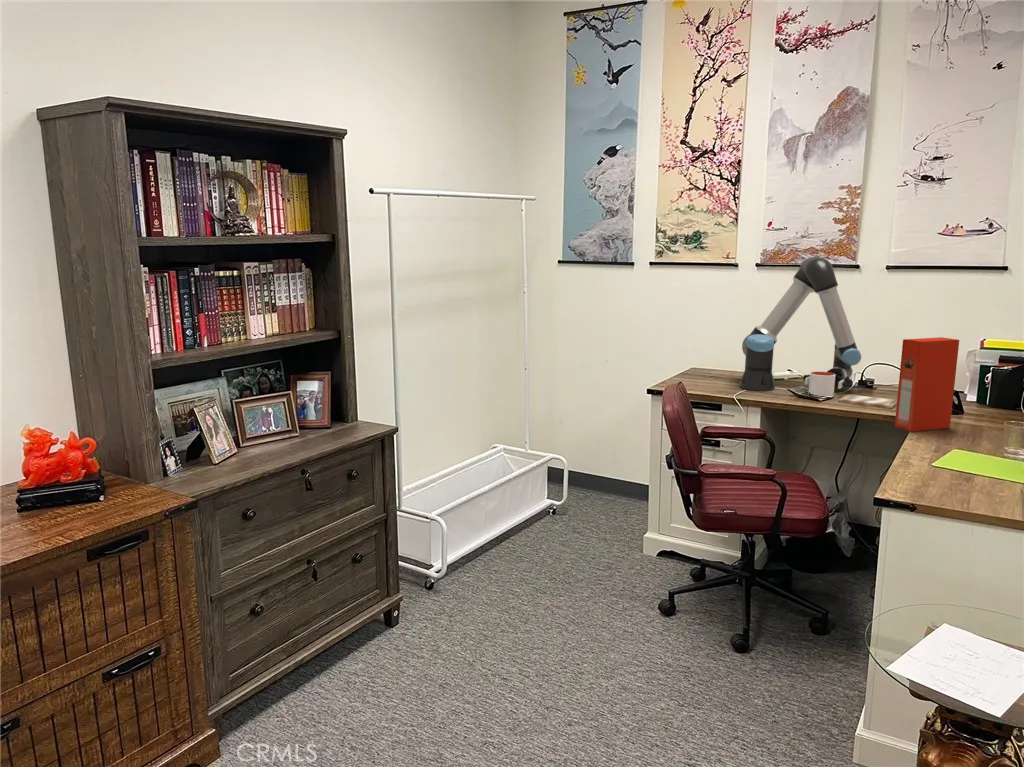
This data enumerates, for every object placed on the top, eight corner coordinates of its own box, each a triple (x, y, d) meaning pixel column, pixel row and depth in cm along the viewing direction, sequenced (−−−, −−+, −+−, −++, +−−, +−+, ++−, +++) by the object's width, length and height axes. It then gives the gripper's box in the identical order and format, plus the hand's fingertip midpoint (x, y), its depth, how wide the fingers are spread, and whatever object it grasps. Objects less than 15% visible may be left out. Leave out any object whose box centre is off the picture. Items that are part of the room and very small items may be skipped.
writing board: (838, 402, 313) (838, 399, 313) (847, 396, 324) (847, 393, 324) (891, 408, 301) (891, 406, 301) (898, 402, 312) (898, 400, 312)
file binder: (893, 426, 273) (903, 338, 267) (930, 423, 279) (940, 336, 272) (912, 432, 266) (921, 342, 259) (949, 428, 271) (960, 339, 265)
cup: (829, 394, 328) (831, 371, 326) (836, 399, 318) (838, 376, 316) (805, 393, 329) (807, 371, 327) (812, 398, 319) (814, 375, 317)
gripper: (864, 387, 331) (852, 395, 315) (806, 381, 346) (791, 388, 330) (866, 371, 330) (854, 378, 313) (807, 364, 345) (793, 371, 328)
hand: (822, 383), depth 321 cm, fingers open, 13 cm apart
